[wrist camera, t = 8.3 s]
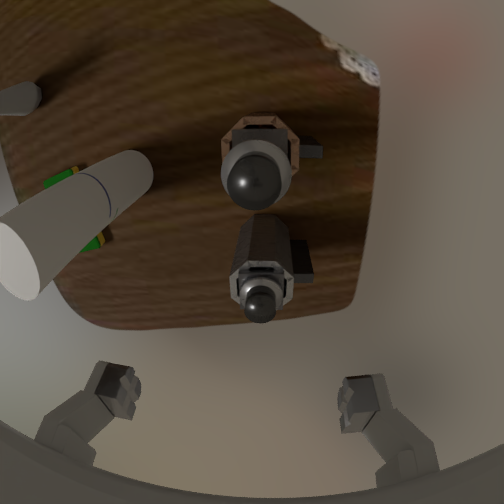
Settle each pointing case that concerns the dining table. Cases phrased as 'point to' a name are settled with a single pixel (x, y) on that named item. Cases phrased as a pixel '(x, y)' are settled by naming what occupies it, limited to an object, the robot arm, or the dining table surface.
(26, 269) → the cylindrical container
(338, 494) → the robot arm
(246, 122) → the copper press carafe
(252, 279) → the steel press plunger
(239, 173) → the copper press plunger
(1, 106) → the salt shaker
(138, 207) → the dining table surface
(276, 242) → the steel press carafe
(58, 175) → the dish sponge
